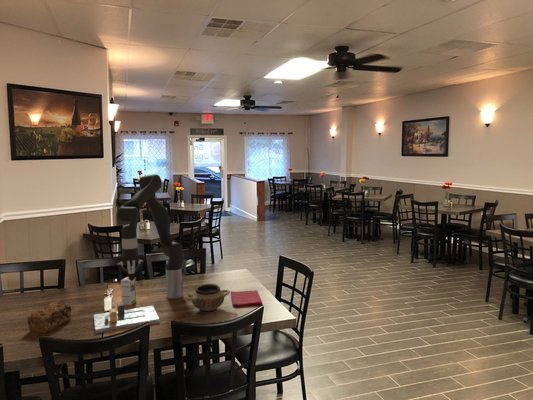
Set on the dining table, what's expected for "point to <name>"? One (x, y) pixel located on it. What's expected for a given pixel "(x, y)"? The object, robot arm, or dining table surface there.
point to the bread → (49, 317)
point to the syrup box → (128, 291)
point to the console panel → (125, 318)
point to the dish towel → (245, 299)
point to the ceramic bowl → (207, 297)
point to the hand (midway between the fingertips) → (131, 280)
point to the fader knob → (113, 315)
